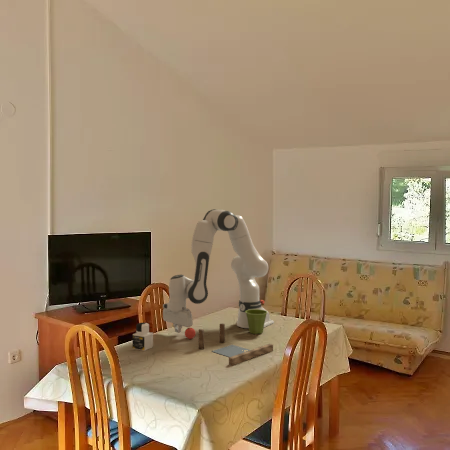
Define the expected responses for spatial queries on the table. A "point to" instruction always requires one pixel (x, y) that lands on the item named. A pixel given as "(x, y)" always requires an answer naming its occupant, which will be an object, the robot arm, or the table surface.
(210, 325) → the table surface
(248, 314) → the plant pot
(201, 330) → the post
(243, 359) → the stopper wall
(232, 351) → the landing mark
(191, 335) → the ball
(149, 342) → the medicine bottle
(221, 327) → the post
